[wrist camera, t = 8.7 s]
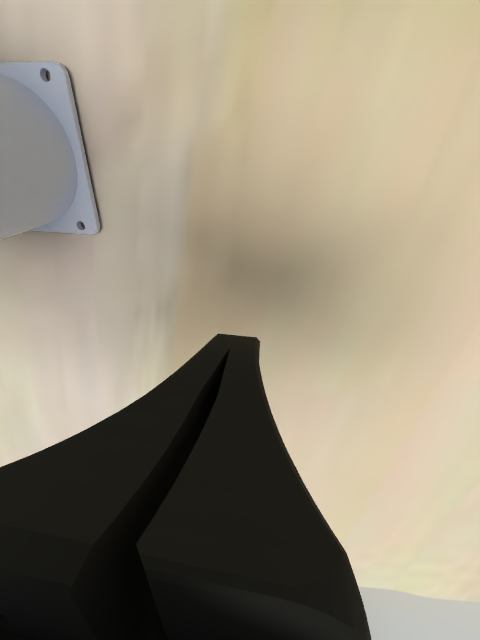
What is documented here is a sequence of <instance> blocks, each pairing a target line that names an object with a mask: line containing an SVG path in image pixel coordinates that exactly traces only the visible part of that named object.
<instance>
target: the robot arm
mask: <svg viewBox="0 0 480 640" xmlns="http://www.w3.org/2000/svg"><path fill="white" fill-rule="evenodd" d="M47 70H48V71H49V73H50V80H49V81H48V80H47V78H46V71H47ZM81 222H83V223H84V225H85V228H83V227H82V226H81ZM29 230H30V231H45V232H59V233H74V234H88V235H92V234H96V233H97V232H99V230H100V223H99V218H98V213H97V209H96V204H95V199H94V194H93V189H92V184H91V179H90V175H89V170H88V165H87V160H86V155H85V150H84V145H83V141H82V136H81V131H80V126H79V121H78V116H77V111H76V107H75V102H74V97H73V92H72V87H71V82H70V78H69V74H68V71H67V70H66V68H65V67H64V66H63V65H62V64H60V63H56V62H0V241H1V240H4V239H6V238H9V237H12V236H15V235H17V234H20V233H23V232H26V231H29ZM259 349H260V341H259V340H258V339H257V338H256V337H246V336H236V335H226V334H217V335H216V336H215V337H214V338H213V339H212V340H210V341H209V342H208V343H207V344H206V345H205V346H204V347H203V348H202V349H201V350H200V351H199V352H198V353H196V354H195V355H194V356H193V357H192V358H191V359H190V360H189V361H187V362H186V363H185V364H184V365H183V366H182V367H180V368H179V369H178V370H177V371H176V372H175V373H173V374H172V375H171V376H169V377H168V378H167V379H166V380H164V381H163V382H162V383H160V384H159V385H158V386H157V387H155V388H154V389H153V390H151V391H150V392H148V393H147V394H146V395H144V396H143V397H141V398H140V399H138V400H136V401H135V402H133V403H132V404H130V405H129V406H127V407H125V408H124V409H122V410H120V411H119V412H117V413H115V414H113V415H112V416H110V417H108V418H106V419H104V420H102V421H101V422H99V423H97V424H95V425H93V426H92V427H90V428H88V429H86V430H84V431H82V432H80V433H78V434H76V435H74V436H72V437H70V438H68V439H66V440H64V441H62V442H59V443H57V444H55V445H53V446H51V447H48V448H46V449H44V450H42V451H39V452H37V453H35V454H32V455H30V456H28V457H25V458H23V459H20V460H18V461H15V462H13V463H10V464H7V465H5V466H2V467H0V640H371V635H370V631H369V626H368V622H367V617H366V613H365V609H364V605H363V602H362V598H361V595H360V592H359V589H358V585H357V582H356V579H355V576H354V573H353V571H352V568H351V565H350V562H349V559H348V556H347V553H346V551H345V550H344V548H343V547H342V545H341V544H340V542H339V541H338V539H337V537H336V536H335V534H334V533H333V531H332V530H331V528H330V527H329V525H328V523H327V522H326V520H325V519H324V517H323V515H322V514H321V512H320V511H319V509H318V507H317V505H316V504H315V502H314V500H313V499H312V497H311V495H310V493H309V492H308V490H307V488H306V486H305V485H304V483H303V481H302V479H301V477H300V475H299V473H298V471H297V469H296V467H295V465H294V463H293V461H292V459H291V457H290V455H289V453H288V451H287V449H286V447H285V445H284V443H283V440H282V438H281V436H280V433H279V431H278V428H277V426H276V423H275V421H274V418H273V415H272V413H271V410H270V407H269V404H268V400H267V397H266V394H265V390H264V386H263V382H262V377H261V372H260V367H259Z"/></svg>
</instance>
